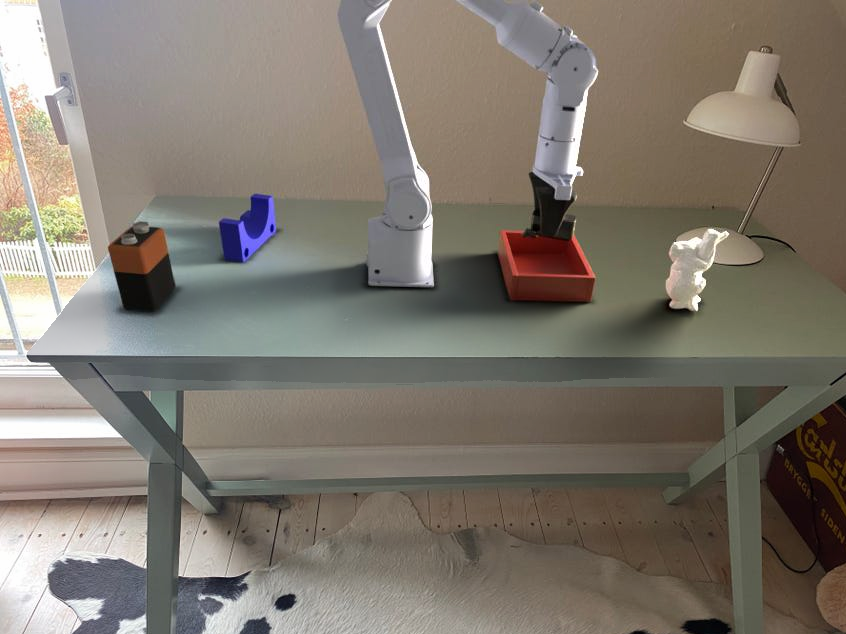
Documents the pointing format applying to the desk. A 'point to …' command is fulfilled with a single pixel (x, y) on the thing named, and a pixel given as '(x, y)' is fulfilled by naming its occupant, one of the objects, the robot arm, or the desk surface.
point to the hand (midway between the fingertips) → (545, 228)
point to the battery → (142, 267)
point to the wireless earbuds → (563, 233)
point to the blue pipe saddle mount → (248, 229)
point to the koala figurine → (690, 268)
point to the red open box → (544, 268)
